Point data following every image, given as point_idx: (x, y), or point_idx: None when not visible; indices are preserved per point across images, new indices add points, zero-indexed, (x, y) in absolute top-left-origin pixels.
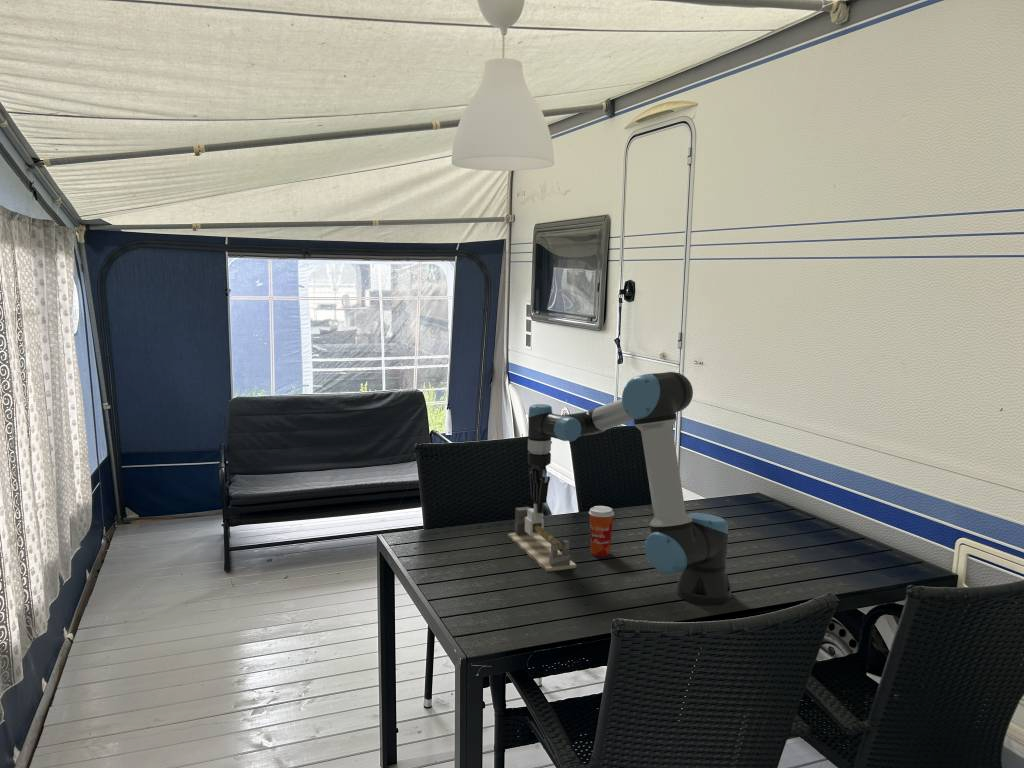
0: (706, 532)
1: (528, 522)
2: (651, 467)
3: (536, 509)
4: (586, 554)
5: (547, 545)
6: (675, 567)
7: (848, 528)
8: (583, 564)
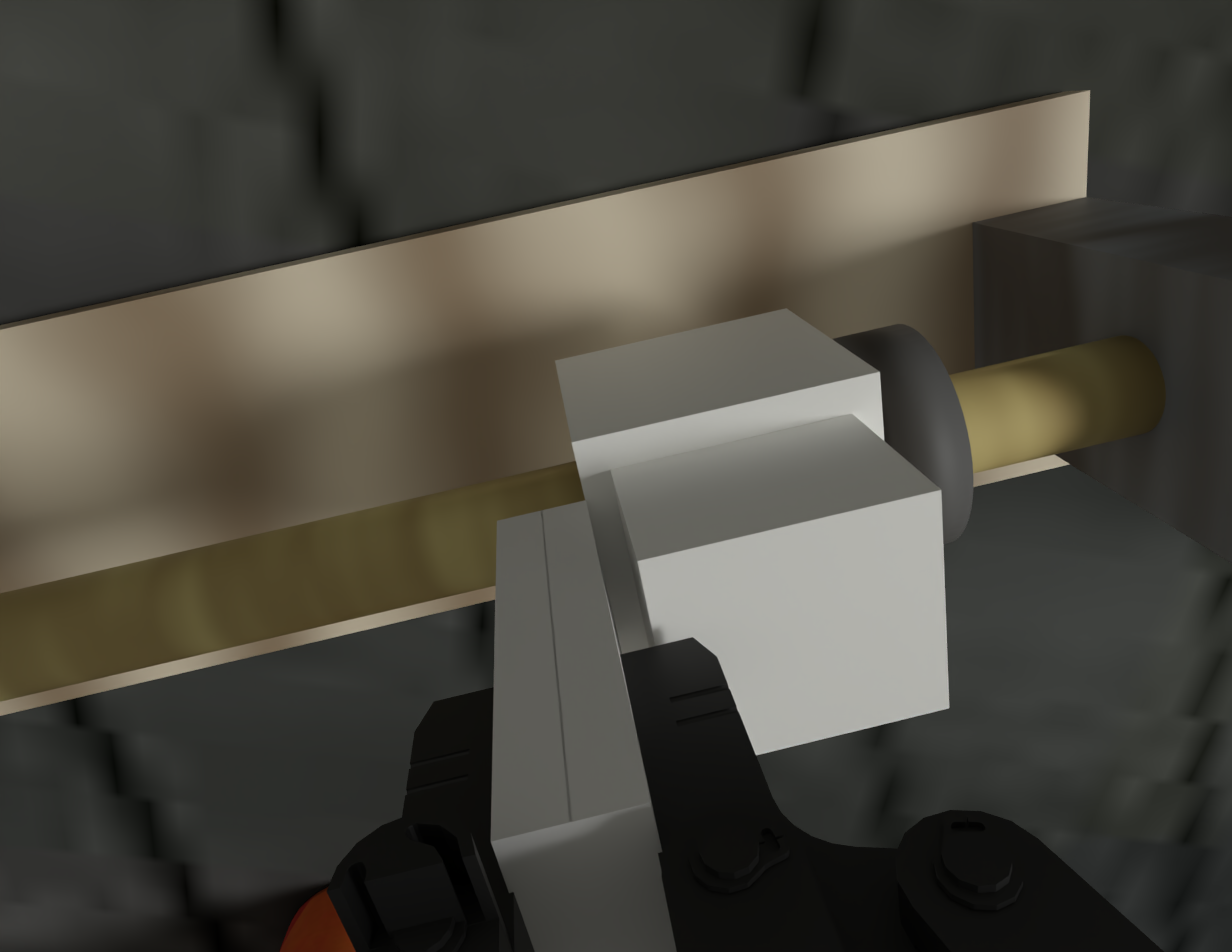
0: None
1: (675, 399)
2: None
3: (500, 724)
4: (346, 838)
5: None
6: None
7: None
8: (49, 786)
